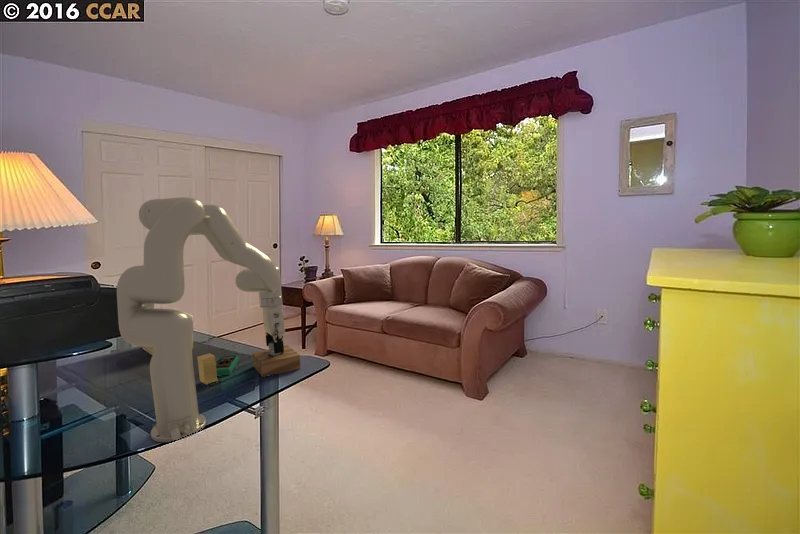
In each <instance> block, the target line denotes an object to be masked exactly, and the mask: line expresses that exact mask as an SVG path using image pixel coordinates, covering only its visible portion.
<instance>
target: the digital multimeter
mask: <svg viewBox="0 0 800 534" xmlns="http://www.w3.org/2000/svg"><path fill="white" fill-rule="evenodd" d="M239 359H240V357H239V355H236V354H235V355H229V354H228V355H222V356H219V357H218V358H217V359H216V360H215V361H216V370H217V375H228V376H230V375H232V372H233V370H234V369H235V367H236V366H237V364H238V363H239V362H240V360H239ZM233 368H234V369H233ZM229 374H230V375H229Z"/></svg>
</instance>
